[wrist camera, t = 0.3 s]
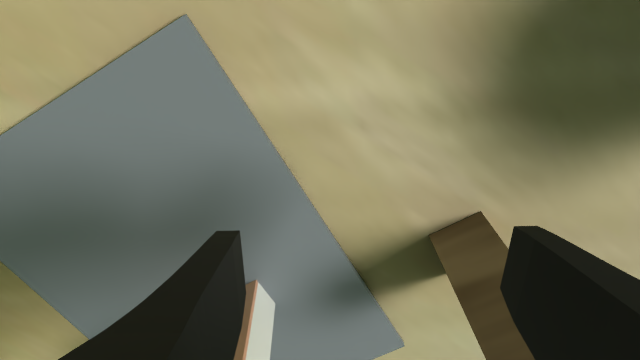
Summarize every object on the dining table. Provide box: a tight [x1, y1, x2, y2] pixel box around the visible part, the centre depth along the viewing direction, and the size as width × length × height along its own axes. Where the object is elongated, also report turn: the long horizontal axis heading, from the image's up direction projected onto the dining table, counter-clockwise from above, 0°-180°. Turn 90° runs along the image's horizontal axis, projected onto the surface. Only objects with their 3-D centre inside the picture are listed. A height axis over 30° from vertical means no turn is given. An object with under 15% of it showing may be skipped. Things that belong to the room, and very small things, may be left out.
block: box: [429, 212, 535, 360], centre depth 19 cm, size 3×3×9 cm
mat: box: [0, 14, 404, 360], centre depth 23 cm, size 22×16×1 cm
